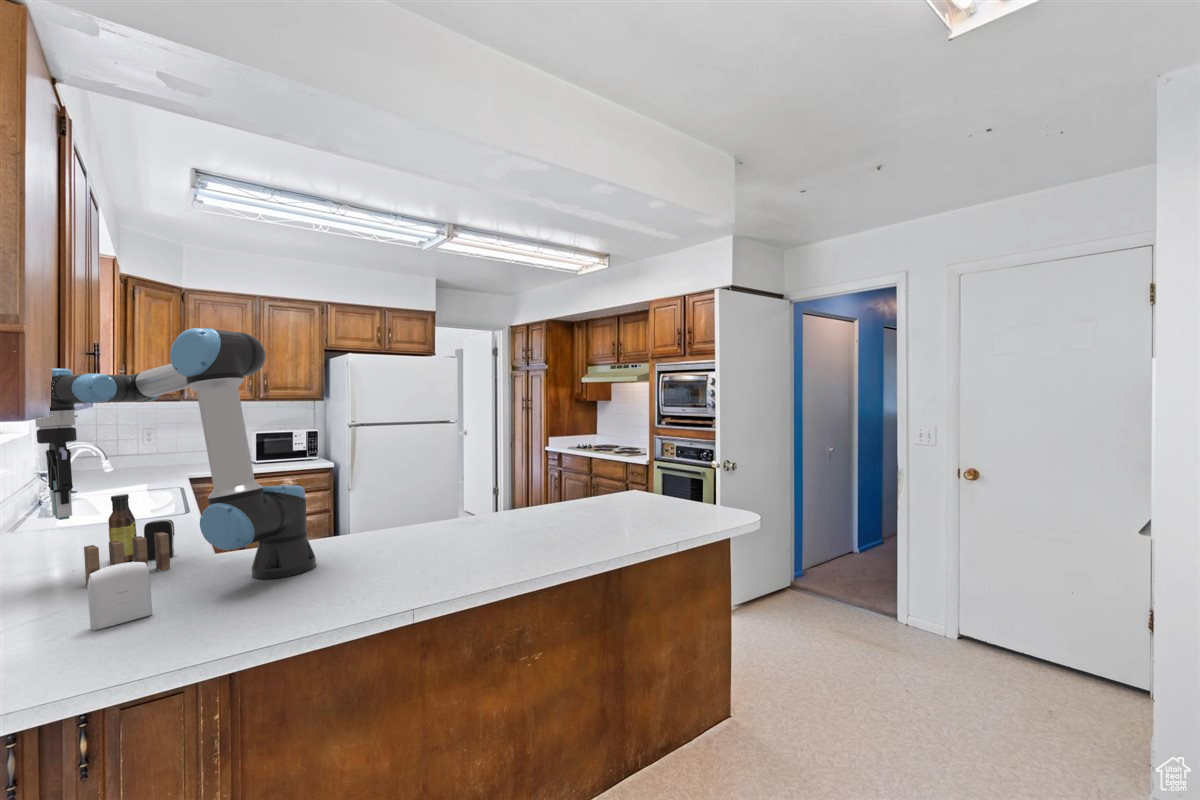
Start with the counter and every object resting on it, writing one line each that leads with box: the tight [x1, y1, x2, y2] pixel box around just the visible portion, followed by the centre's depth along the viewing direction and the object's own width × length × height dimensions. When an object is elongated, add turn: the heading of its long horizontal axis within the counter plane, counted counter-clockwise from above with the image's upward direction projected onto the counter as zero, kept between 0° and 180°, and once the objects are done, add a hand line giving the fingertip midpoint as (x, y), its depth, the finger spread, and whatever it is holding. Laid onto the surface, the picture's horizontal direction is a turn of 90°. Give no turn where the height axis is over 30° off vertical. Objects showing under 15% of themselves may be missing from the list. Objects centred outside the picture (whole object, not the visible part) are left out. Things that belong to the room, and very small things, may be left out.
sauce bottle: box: [107, 493, 138, 563], centre depth 169 cm, size 7×6×20 cm
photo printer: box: [86, 561, 153, 631], centre depth 120 cm, size 10×4×12 cm, turn 140°
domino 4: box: [132, 535, 149, 568], centre depth 154 cm, size 5×2×10 cm, turn 55°
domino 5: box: [154, 532, 171, 572], centre depth 158 cm, size 5×2×10 cm, turn 55°
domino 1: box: [53, 480, 70, 521], centre depth 148 cm, size 5×2×10 cm, turn 54°
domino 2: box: [83, 544, 101, 586], centre depth 146 cm, size 5×2×10 cm, turn 55°
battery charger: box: [143, 519, 176, 561], centre depth 170 cm, size 7×4×11 cm, turn 113°
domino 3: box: [108, 541, 125, 566], centre depth 150 cm, size 5×2×10 cm, turn 55°
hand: (62, 515), depth 148 cm, fingers closed on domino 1, 5 cm apart
